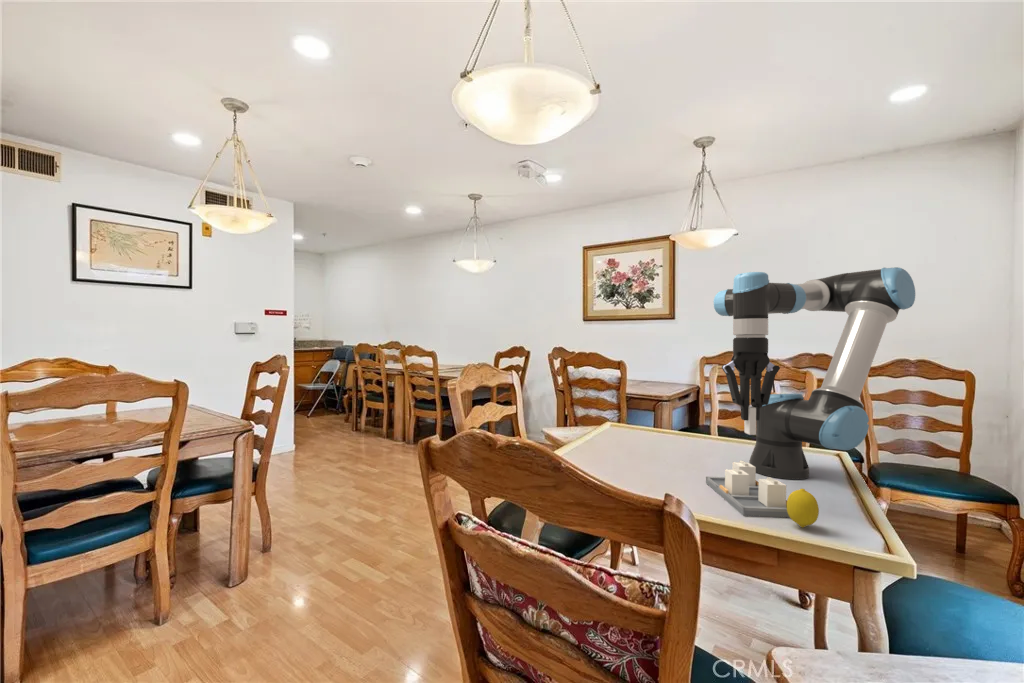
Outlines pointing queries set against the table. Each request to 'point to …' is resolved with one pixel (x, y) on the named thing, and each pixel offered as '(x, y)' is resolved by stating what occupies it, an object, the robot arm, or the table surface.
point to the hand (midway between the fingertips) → (750, 433)
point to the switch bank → (746, 500)
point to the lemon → (802, 508)
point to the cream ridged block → (737, 482)
